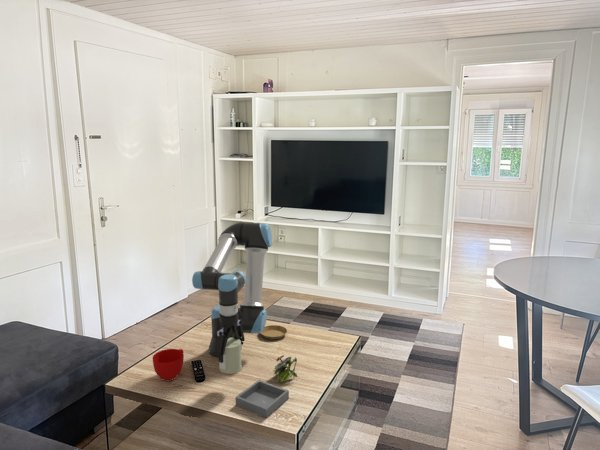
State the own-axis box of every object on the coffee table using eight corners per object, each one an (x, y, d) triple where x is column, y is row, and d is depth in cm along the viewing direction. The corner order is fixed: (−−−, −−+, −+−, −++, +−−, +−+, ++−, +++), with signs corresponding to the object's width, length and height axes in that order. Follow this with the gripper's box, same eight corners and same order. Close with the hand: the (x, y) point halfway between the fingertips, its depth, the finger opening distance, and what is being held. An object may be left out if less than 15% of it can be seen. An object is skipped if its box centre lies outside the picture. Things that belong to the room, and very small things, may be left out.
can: (237, 374, 176) (236, 347, 173) (216, 372, 177) (215, 345, 175) (244, 363, 184) (244, 337, 182) (224, 361, 186) (223, 335, 184)
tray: (235, 405, 170) (235, 397, 169) (259, 387, 182) (259, 379, 182) (266, 418, 162) (266, 409, 161) (288, 398, 174) (288, 390, 174)
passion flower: (280, 385, 194) (283, 357, 199) (301, 386, 189) (304, 358, 194) (267, 381, 185) (271, 352, 190) (289, 383, 180) (293, 353, 186)
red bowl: (195, 367, 198) (194, 347, 196) (172, 387, 182) (171, 365, 180) (171, 363, 202) (170, 343, 200) (147, 381, 186) (146, 360, 185)
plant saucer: (287, 329, 240) (287, 325, 240) (286, 341, 226) (286, 336, 226) (261, 329, 240) (261, 325, 240) (258, 341, 226) (258, 336, 226)
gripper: (217, 324, 165) (219, 378, 170) (252, 306, 183) (253, 355, 188) (203, 320, 169) (205, 372, 174) (239, 302, 187) (240, 350, 191)
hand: (230, 363), depth 181 cm, fingers closed on can, 9 cm apart
